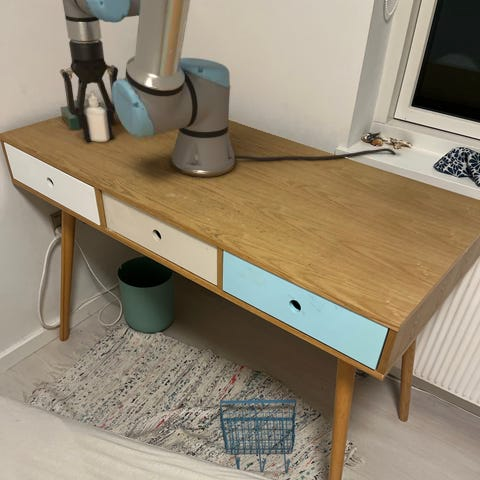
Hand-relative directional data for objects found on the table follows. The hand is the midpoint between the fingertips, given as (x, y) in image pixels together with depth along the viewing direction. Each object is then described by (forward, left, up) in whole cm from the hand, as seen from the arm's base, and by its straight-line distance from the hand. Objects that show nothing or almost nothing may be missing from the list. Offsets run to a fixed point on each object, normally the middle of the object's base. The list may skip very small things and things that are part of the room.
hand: (98, 138), depth 132 cm
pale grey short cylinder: (-1, -14, +4) cm, 15 cm away
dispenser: (-1, -14, 0) cm, 14 cm away
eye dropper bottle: (0, 0, 0) cm, 0 cm away
